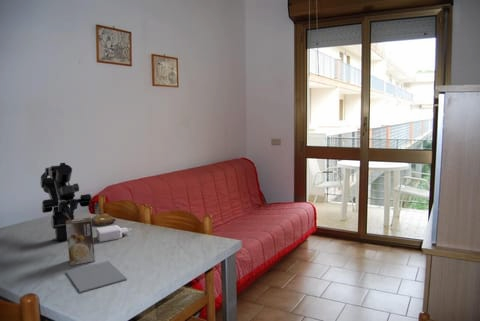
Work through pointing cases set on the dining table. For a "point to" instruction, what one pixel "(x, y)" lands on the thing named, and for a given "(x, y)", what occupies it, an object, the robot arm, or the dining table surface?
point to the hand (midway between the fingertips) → (71, 219)
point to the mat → (95, 276)
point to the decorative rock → (103, 219)
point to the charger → (110, 233)
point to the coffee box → (80, 241)
